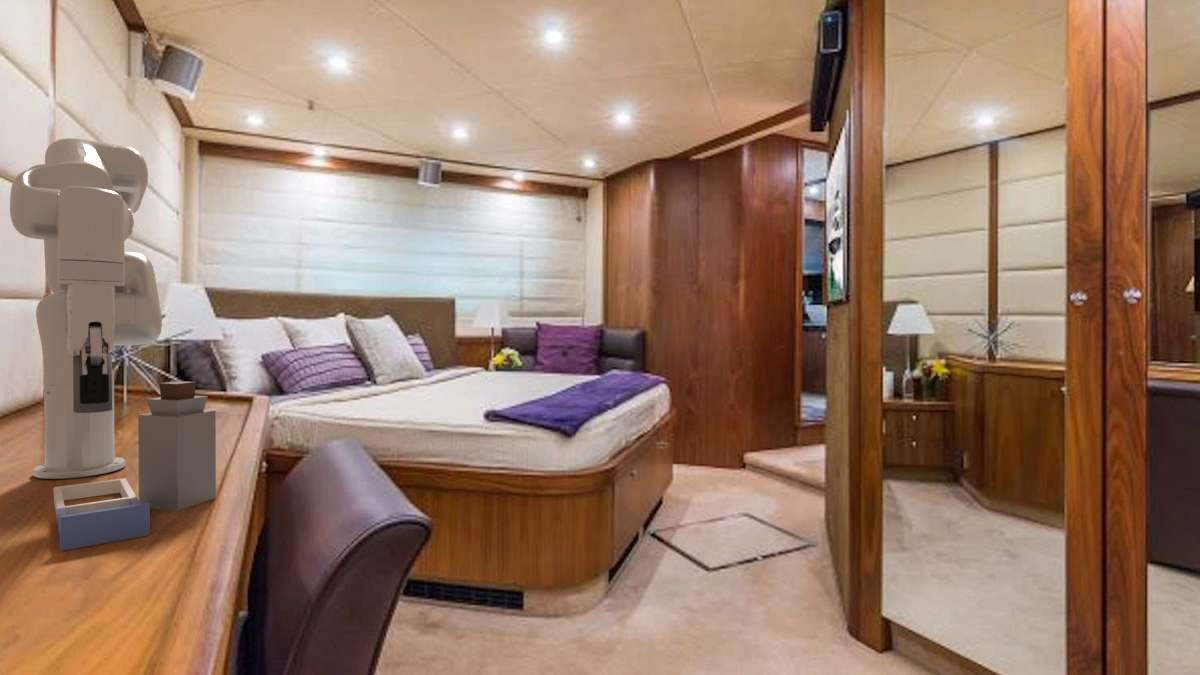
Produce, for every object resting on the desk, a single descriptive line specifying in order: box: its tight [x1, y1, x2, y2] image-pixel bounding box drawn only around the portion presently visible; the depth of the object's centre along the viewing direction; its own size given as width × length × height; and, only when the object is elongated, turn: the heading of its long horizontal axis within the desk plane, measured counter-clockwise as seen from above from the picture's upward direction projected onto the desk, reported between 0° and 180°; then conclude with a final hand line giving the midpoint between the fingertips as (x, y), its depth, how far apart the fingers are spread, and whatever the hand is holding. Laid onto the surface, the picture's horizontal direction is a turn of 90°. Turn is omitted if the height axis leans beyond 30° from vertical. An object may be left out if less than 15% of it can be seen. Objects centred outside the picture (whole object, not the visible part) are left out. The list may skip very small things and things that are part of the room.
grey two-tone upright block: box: [73, 354, 113, 413], centre depth 92 cm, size 4×4×8 cm
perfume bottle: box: [137, 380, 217, 512], centre depth 94 cm, size 7×7×18 cm
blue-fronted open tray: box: [53, 477, 151, 552], centre depth 87 cm, size 26×9×4 cm, turn 42°
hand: (93, 399), depth 92 cm, fingers closed on grey two-tone upright block, 4 cm apart
